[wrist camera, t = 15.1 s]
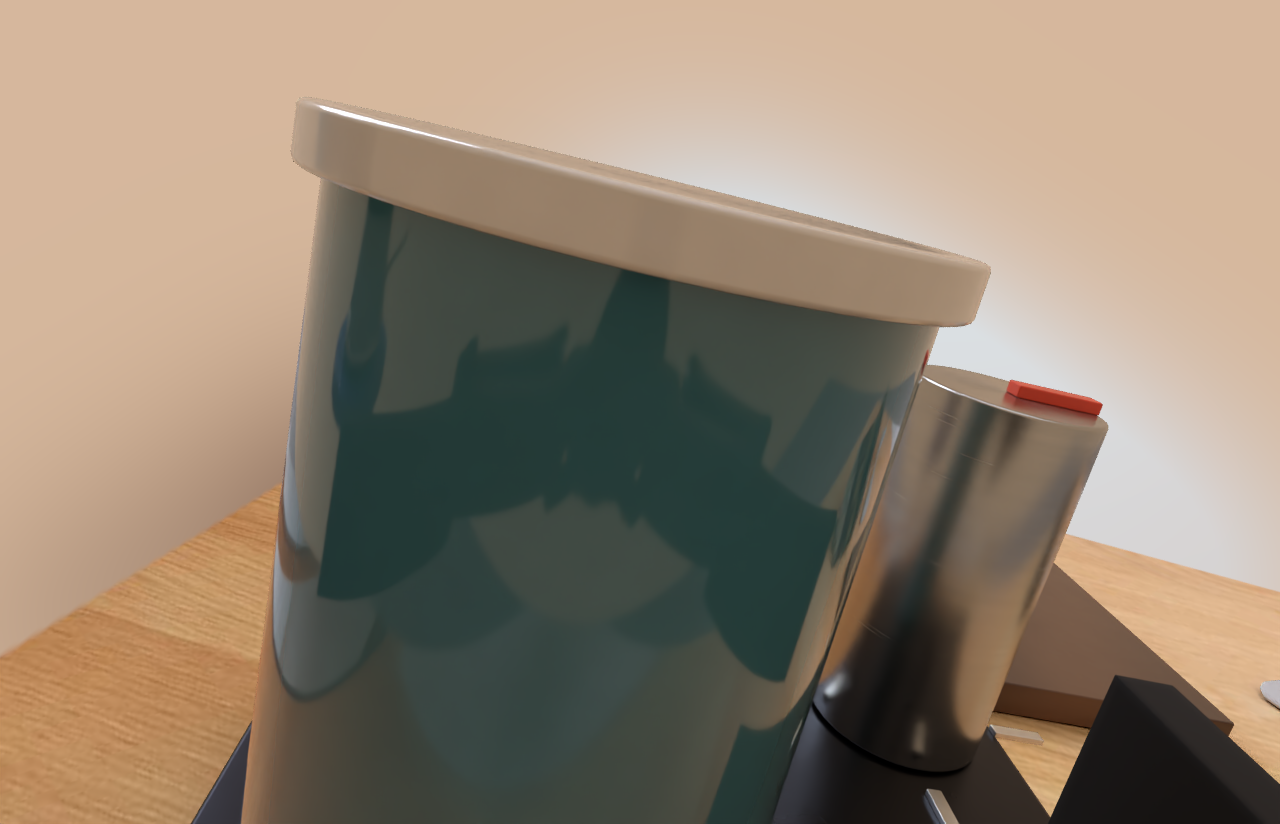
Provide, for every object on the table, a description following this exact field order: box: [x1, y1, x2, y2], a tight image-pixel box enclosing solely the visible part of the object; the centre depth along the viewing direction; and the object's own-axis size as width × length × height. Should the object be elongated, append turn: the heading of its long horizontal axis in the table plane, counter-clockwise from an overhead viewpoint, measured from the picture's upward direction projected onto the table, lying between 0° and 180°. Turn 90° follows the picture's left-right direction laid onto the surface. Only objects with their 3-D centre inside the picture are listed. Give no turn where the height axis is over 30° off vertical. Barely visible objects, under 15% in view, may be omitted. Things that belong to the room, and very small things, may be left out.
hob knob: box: [813, 365, 1108, 772], centre depth 21 cm, size 4×4×9 cm
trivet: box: [993, 563, 1234, 736], centre depth 38 cm, size 16×16×1 cm
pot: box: [239, 97, 991, 824], centre depth 11 cm, size 7×7×12 cm
